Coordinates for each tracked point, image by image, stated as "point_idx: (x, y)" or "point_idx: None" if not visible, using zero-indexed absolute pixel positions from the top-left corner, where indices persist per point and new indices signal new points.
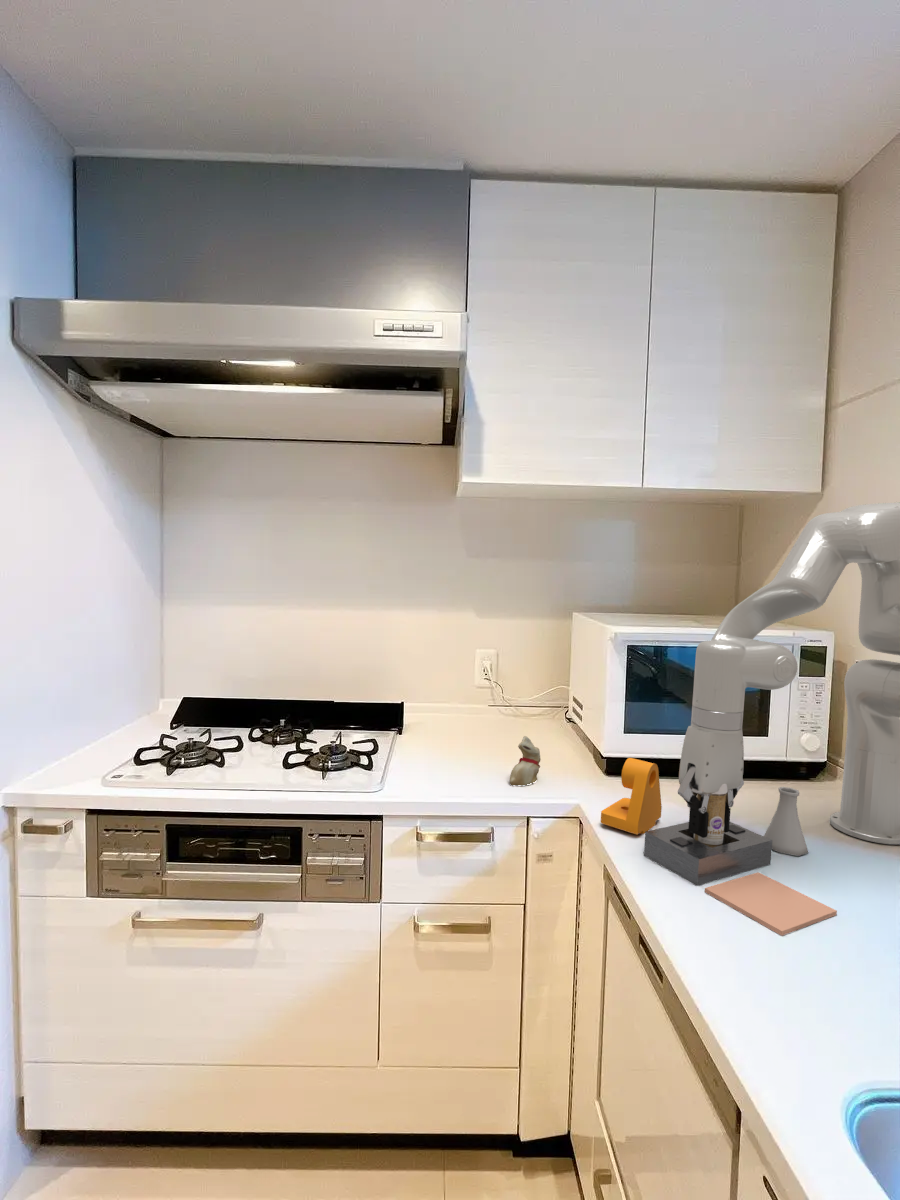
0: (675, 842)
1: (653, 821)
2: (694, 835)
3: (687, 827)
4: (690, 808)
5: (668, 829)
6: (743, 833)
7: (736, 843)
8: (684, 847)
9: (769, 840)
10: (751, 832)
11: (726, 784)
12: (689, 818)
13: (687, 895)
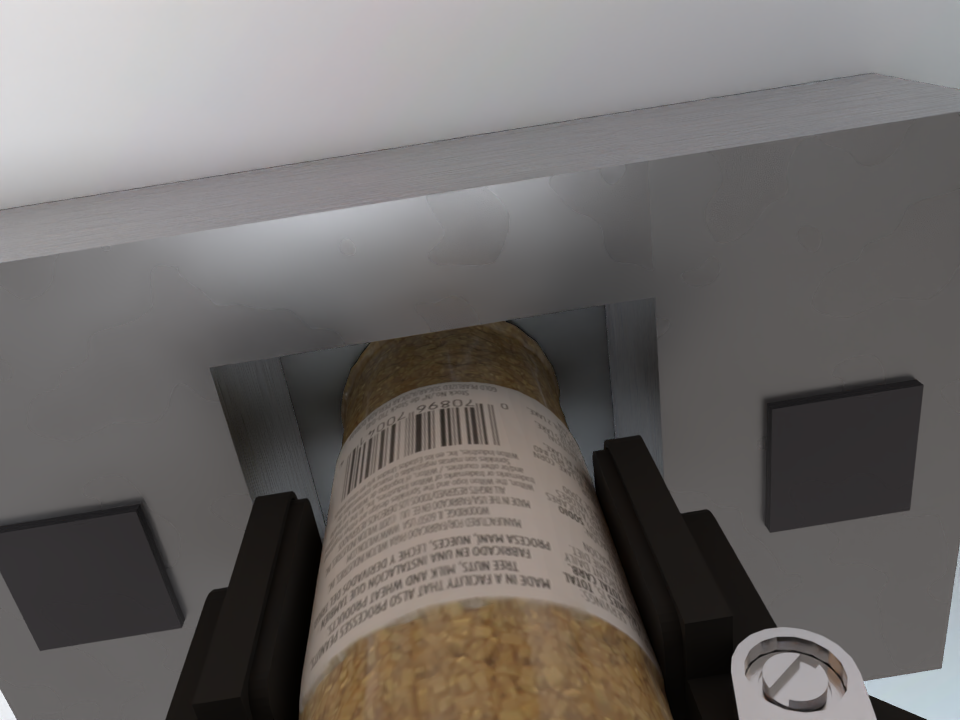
0: (11, 588)
1: None
2: (337, 471)
3: (390, 310)
4: (200, 692)
5: (122, 307)
6: (840, 534)
7: None
8: (58, 657)
9: (912, 667)
10: (929, 534)
11: None
12: (233, 579)
13: (5, 715)
